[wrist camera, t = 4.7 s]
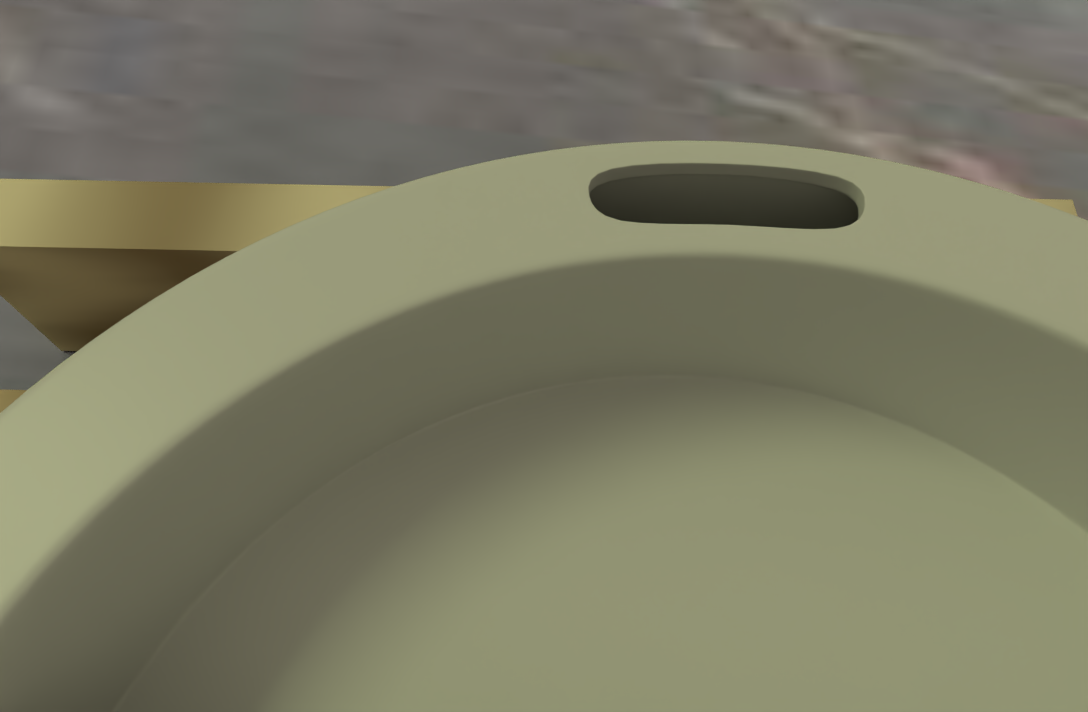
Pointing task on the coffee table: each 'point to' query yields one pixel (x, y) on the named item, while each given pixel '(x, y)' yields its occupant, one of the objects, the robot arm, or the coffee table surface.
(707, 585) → the coffee cup
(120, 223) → the frame
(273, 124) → the coffee table surface
